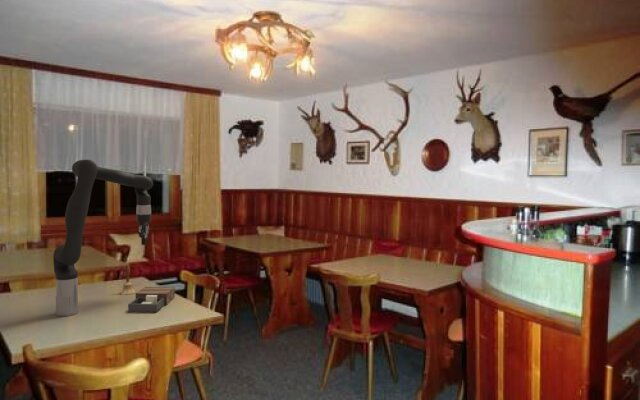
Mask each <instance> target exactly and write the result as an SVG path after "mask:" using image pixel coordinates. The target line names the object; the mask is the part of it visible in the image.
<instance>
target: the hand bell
mask: <svg viewBox="0 0 640 400" xmlns="http://www.w3.org/2000/svg"><path fill="white" fill-rule="evenodd" d="M124 274H125V277H126V278H125V281H126V282H125V283H123V286H122V290H121V291H120V292H119V294H120V295H122V296H128V295H129V296H130V295H135V294H136V293H137V291H136V290H135V289H134V288H133V283H132V282H130V274H131V268H130V265H129V264H126V265H125V268H124Z"/></svg>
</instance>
